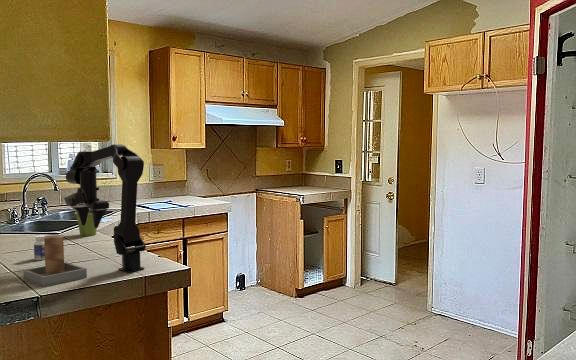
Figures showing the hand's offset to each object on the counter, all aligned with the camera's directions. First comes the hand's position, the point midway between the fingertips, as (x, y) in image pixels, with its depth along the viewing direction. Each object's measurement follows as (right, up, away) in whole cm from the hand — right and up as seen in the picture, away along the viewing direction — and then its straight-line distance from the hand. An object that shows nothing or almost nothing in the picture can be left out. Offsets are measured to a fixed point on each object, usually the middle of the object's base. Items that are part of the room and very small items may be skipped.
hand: (89, 226), depth 185 cm
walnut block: (-2, -14, -24) cm, 28 cm away
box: (-2, -15, -24) cm, 28 cm away
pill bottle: (-20, -13, +5) cm, 24 cm away
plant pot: (-23, -10, +56) cm, 61 cm away
